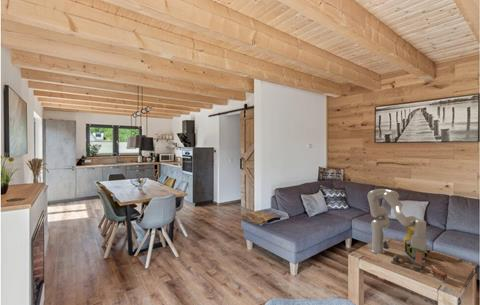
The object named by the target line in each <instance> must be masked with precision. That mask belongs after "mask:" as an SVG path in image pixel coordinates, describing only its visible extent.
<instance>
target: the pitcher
mask: <svg viewBox="0 0 480 305" xmlns="http://www.w3.org/2000/svg"><path fill="white" fill-rule="evenodd" d="M405 228H406V235H405V236H404V237H403V241H402V243H403V244H402V245H403V247H404V248H405V240H411V239H412V235H413V233H412V232H414V226H409V227H405Z"/></svg>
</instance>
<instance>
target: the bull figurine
mask: <svg viewBox="0 0 480 305" xmlns="http://www.w3.org/2000/svg"><path fill="white" fill-rule="evenodd" d="M429 267H430V268H431V271H432V275H431V278H432V277H436V278H438V277H439V278H441V282H442V283H445V281H446V280H447V279H448V274H447V273H445V272H444V271H442V270H440V269H439V268H438V267H437V266H435V265H434V264H431V265H429ZM435 275H436V276H435Z"/></svg>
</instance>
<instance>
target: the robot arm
mask: <svg viewBox="0 0 480 305" xmlns="http://www.w3.org/2000/svg"><path fill="white" fill-rule="evenodd" d="M382 198H383V199H384V200H385V201H386V202H387V204H388V205H389V206H390V207H391V208H392V210H393V214H394V215H395V219H396V220H397V221H398V222H399V223H400V225H402V226H403V227H405V228H406V227H409V226H414V232H412V233H413V235H412V239H411V241H406V243H407V245H408V246H409V248H410V250H409V251H410V253H412V247H413V248H417V249H420V250H424V251H425V256H424V257H425V259H426V258H427V257H428V254H429V253H430V252H431V251H433V248H432V247H430V246H429V245H428V243H427V242H428V241H427V237H426V233H427V232H426V231H427V221H426V220H424V219H420V218H418V217H416V216H413V215H411V216H410V215H409V216H405V214H404V213H403V211H402V208H403V206H404V205H403V203H402V202H401V200H400V199H399V198H400V194H399V192H397V191H395V190H394V189H393V190H391V189H387V188H378V189H377V188H376V189H372V190H370V191H368V193H367V200H368V205H369V210H370V215H371V217H373V218H375V219H372V221H371V224H370V225H371V232H372V234H371V244H369V243H368V244H367V247H368V248H369V250H370V252H372V253H373V254H376V255H377V254H384V253H386V251H385V249H384V238H385V236H384V235H385V234H384V231H383V229H386V228H388V227H390V224H391V223H390V222H391V221H390V218H389V213H388V212H389V211H387V208H386V207H384V206H380V202H379V201H378V199H382ZM409 243H411V246H410V244H409Z"/></svg>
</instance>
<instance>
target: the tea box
mask: <svg viewBox="0 0 480 305" xmlns="http://www.w3.org/2000/svg"><path fill="white" fill-rule="evenodd" d="M406 241H411V240H405V247H404V256H406V257H407V258H408V259H409V261H411V262H415V259H416V252H420V253H423V260H422V263H423V264H425V262H426V258H425V257H424V256H425V251H424V250H420V249H417V248H413V247H412V253H410V251H409V250H410V248H409V246H408V245H407V243H406ZM409 244H410V246H411V243H409Z"/></svg>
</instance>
